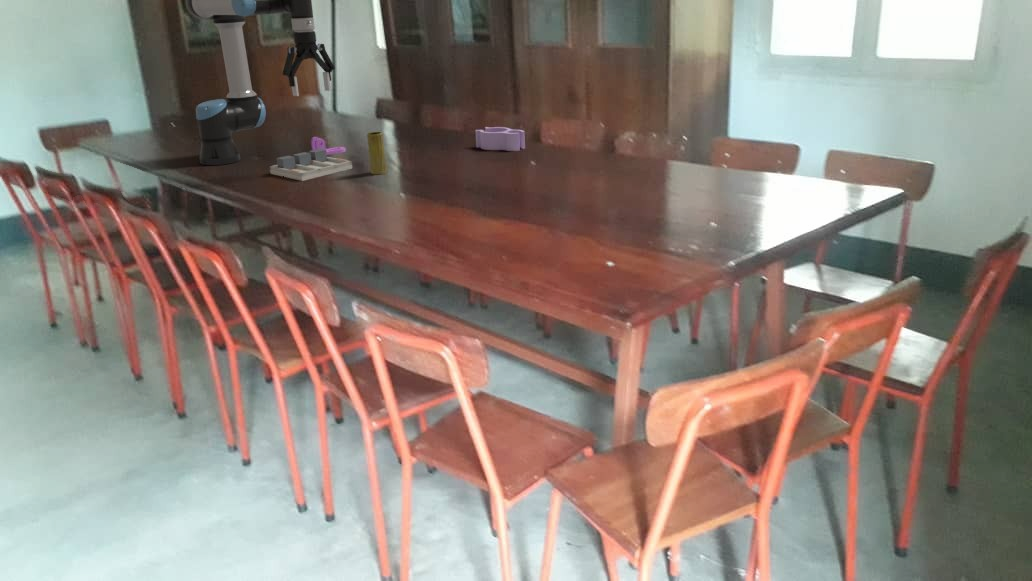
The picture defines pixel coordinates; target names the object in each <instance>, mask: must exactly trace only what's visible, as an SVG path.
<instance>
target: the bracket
mask: <svg viewBox="0 0 1032 581" xmlns="http://www.w3.org/2000/svg"><path fill="white" fill-rule="evenodd" d="M310 144H311V145H310V146H311V151H312V150H316V149H324V150H326V154H327V156H330V155H334V154H335V153H336V154H339V153H345V152H346V150H347V149H346V147H344V146H336V147H330V148H327V146H326V141H325V140H324V139H323V138H320V137H318V136H313V137H312V138H311V139H310ZM329 154H330V155H329Z"/></svg>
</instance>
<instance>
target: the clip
mask: <svg viewBox="0 0 1032 581" xmlns="http://www.w3.org/2000/svg"><path fill="white" fill-rule="evenodd" d="M525 139H526V138H525V130H522V129H512V128H509V127H504V126H494V127H489V126H485V127H484V129H475V145H476V146H475V147H476V148H480V149H482V150H486V151H502V150H503V151H507V152H517V151H519V152H520V149H521V150H522V149H523V150H525V149H526V141H525Z"/></svg>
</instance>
